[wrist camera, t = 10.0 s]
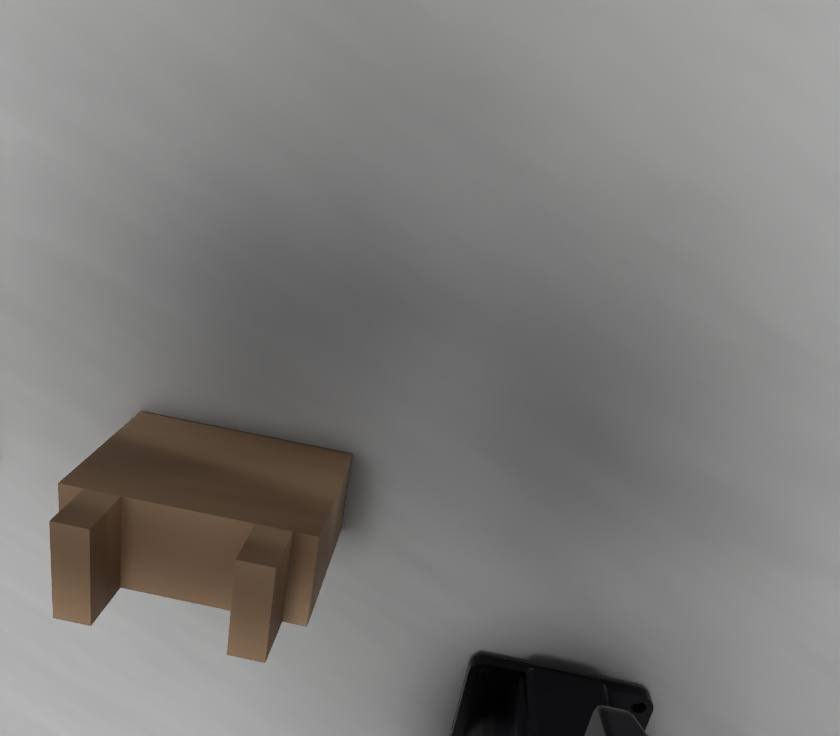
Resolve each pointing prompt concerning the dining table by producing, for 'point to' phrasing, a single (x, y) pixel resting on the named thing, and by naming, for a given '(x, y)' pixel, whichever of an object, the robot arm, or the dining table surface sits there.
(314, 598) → the post
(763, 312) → the dining table surface
